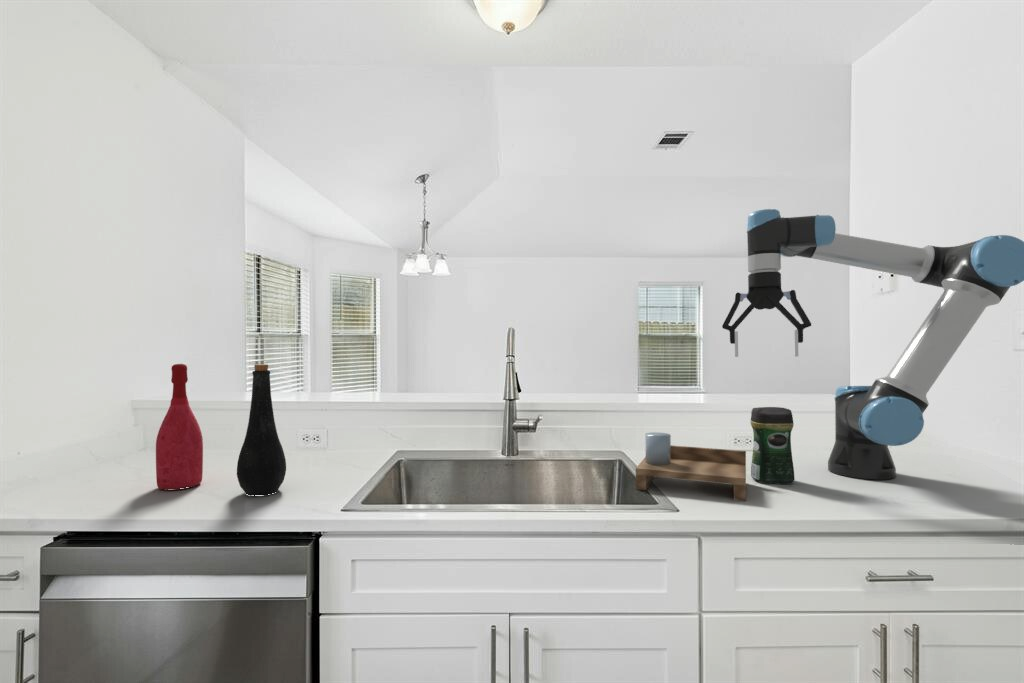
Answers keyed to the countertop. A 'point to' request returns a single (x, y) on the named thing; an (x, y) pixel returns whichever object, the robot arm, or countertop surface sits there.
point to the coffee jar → (772, 445)
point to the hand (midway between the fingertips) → (765, 356)
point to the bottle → (261, 442)
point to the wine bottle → (179, 440)
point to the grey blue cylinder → (658, 448)
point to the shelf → (699, 468)
